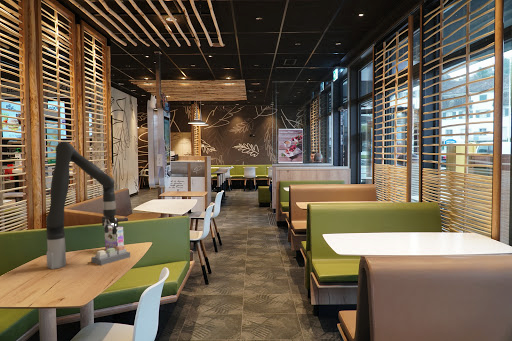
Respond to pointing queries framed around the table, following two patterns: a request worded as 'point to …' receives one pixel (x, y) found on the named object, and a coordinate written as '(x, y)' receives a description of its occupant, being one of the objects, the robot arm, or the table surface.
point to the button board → (110, 257)
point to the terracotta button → (120, 248)
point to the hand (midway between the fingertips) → (110, 233)
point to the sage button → (111, 250)
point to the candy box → (114, 238)
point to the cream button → (101, 252)
